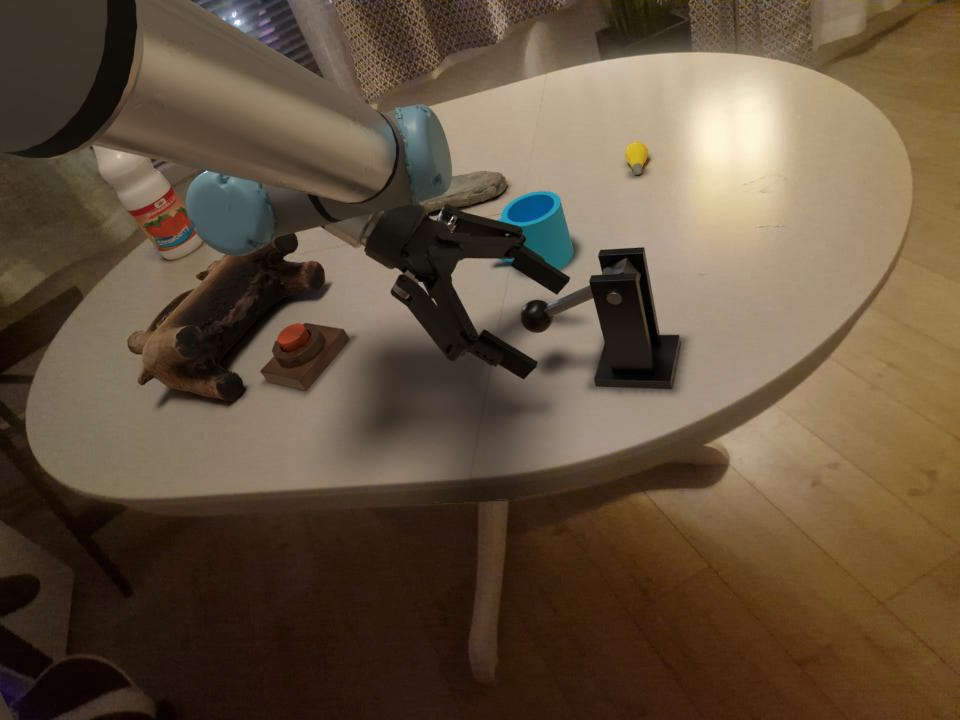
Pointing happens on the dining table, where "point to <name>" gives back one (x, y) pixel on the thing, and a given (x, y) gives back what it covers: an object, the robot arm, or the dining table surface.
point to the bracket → (631, 327)
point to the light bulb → (636, 156)
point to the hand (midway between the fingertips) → (548, 326)
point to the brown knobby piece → (219, 318)
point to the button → (293, 337)
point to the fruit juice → (149, 201)
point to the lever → (565, 301)
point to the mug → (541, 226)
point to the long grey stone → (468, 190)
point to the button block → (305, 358)
